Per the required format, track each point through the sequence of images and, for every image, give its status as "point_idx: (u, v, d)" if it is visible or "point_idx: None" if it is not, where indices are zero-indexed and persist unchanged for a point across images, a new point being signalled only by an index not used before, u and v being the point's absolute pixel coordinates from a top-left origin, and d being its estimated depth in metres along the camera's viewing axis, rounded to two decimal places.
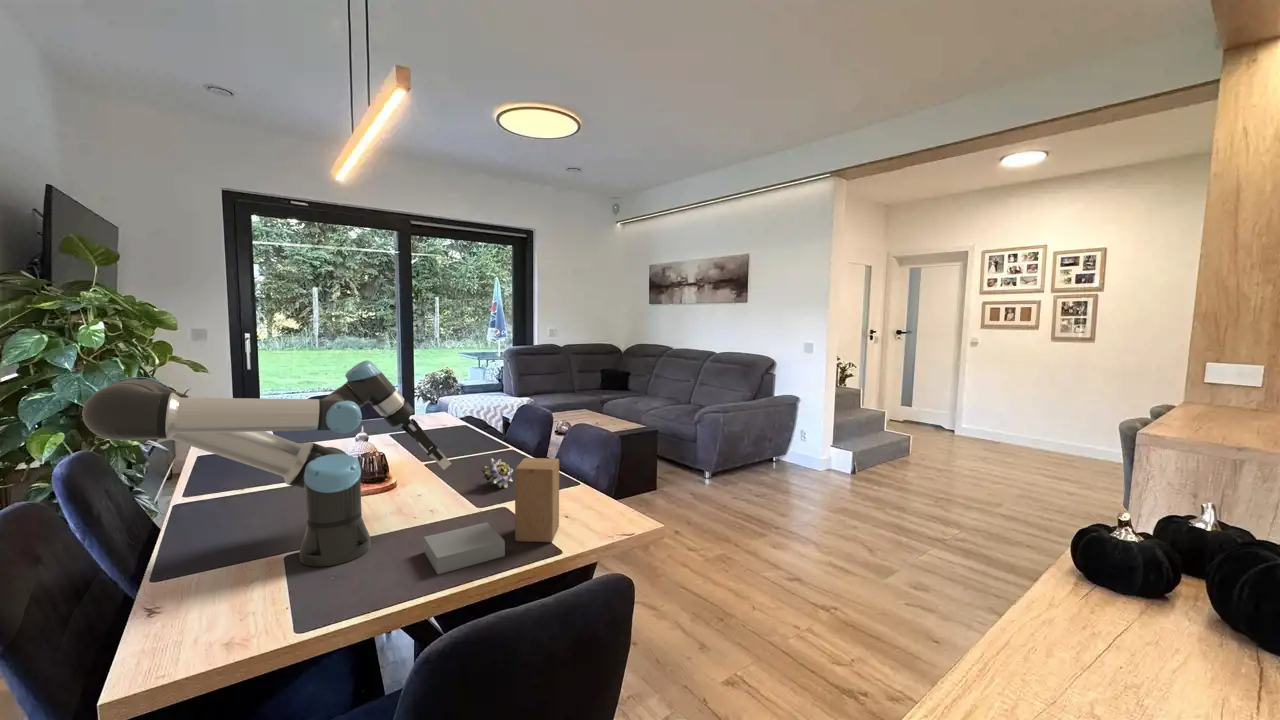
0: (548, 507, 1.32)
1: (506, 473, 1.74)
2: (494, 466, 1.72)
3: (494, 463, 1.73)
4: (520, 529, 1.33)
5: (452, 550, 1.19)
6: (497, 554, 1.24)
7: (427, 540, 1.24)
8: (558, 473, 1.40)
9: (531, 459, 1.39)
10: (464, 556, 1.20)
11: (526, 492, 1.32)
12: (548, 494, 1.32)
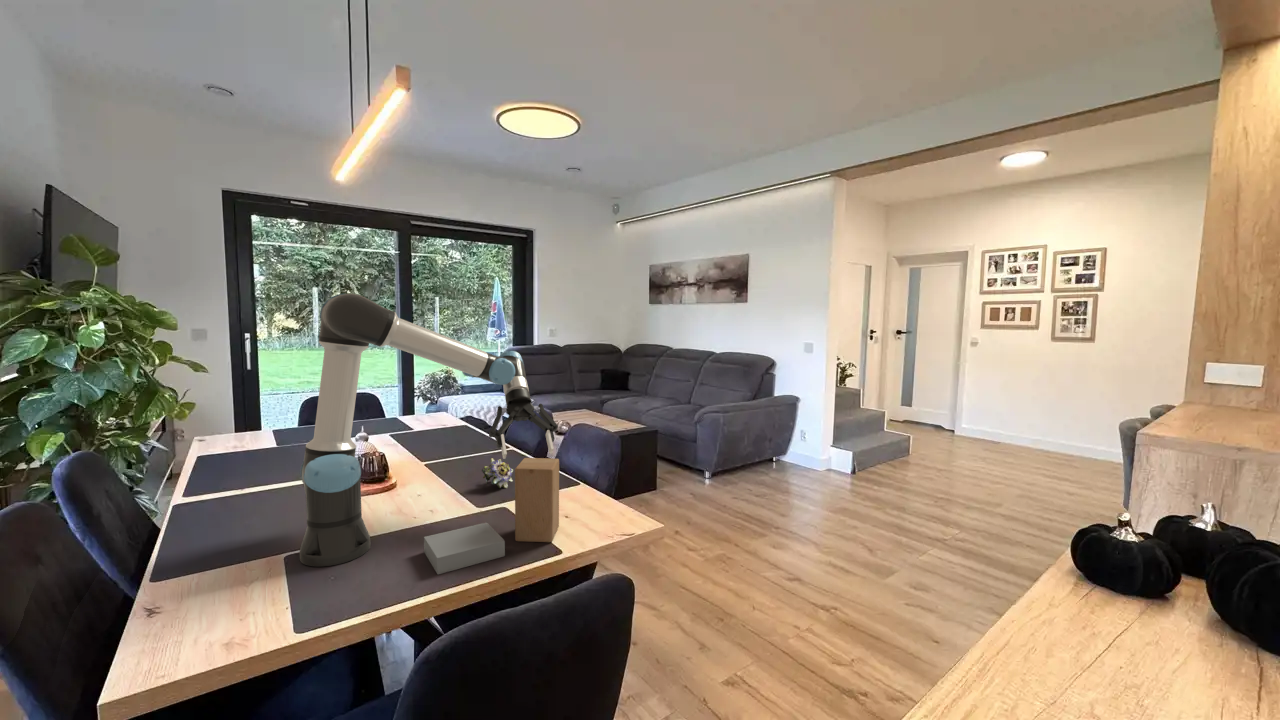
0: (548, 507, 1.32)
1: (506, 473, 1.74)
2: (494, 466, 1.72)
3: (494, 463, 1.73)
4: (520, 529, 1.33)
5: (452, 550, 1.19)
6: (497, 554, 1.24)
7: (427, 540, 1.24)
8: (558, 473, 1.40)
9: (531, 459, 1.39)
10: (464, 556, 1.20)
11: (526, 492, 1.32)
12: (548, 494, 1.32)
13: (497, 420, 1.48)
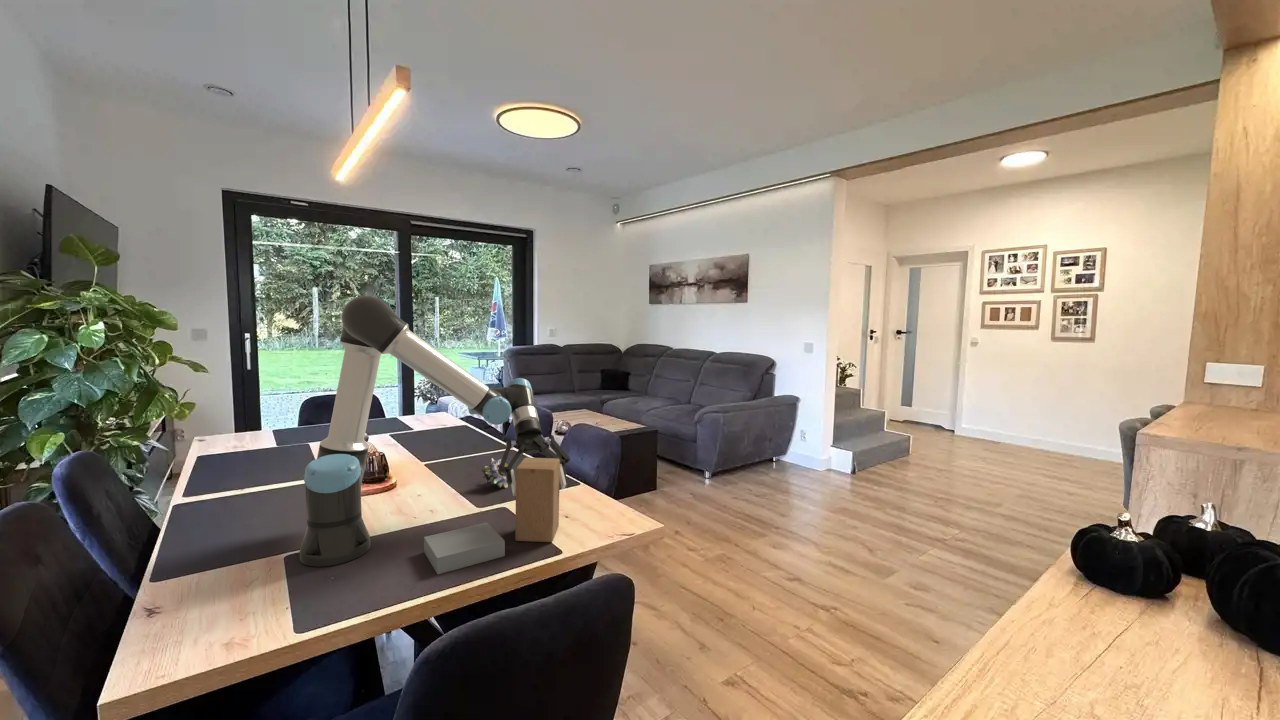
0: (548, 507, 1.32)
1: None
2: (494, 466, 1.72)
3: (494, 463, 1.73)
4: (521, 528, 1.33)
5: (452, 550, 1.19)
6: (497, 554, 1.24)
7: (427, 540, 1.24)
8: (559, 473, 1.40)
9: (532, 459, 1.39)
10: (464, 556, 1.20)
11: (527, 492, 1.32)
12: (549, 494, 1.32)
13: (506, 454, 1.41)
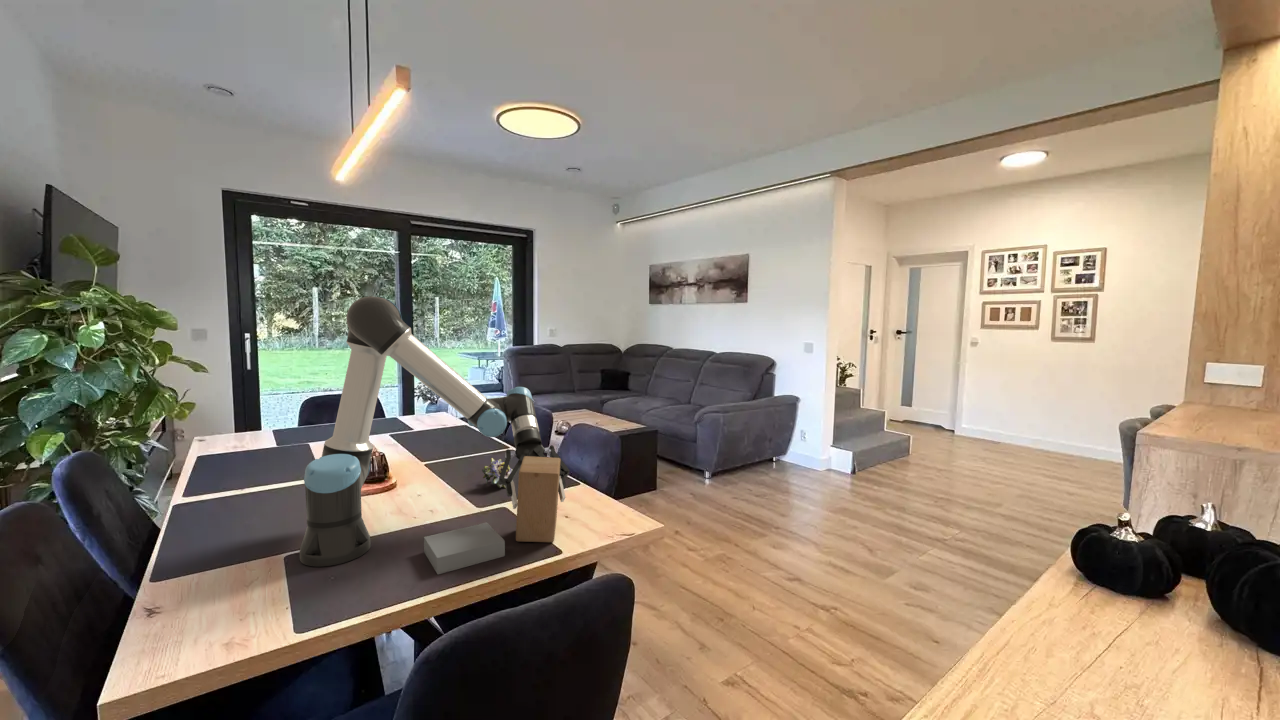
0: (551, 510, 1.31)
1: (506, 473, 1.74)
2: (494, 466, 1.72)
3: (494, 463, 1.73)
4: (522, 529, 1.31)
5: (452, 550, 1.19)
6: (497, 554, 1.24)
7: (427, 540, 1.24)
8: (559, 472, 1.38)
9: (532, 459, 1.35)
10: (464, 556, 1.20)
11: (530, 495, 1.29)
12: (553, 497, 1.30)
13: (506, 465, 1.37)
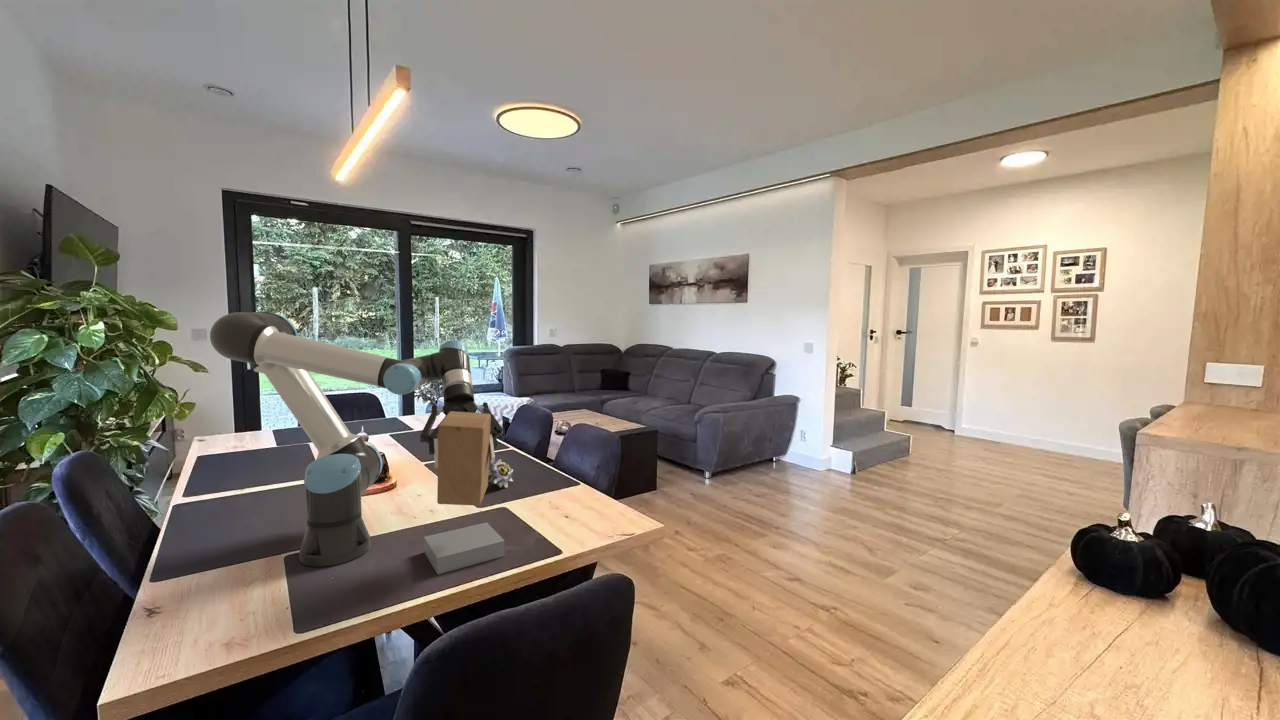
0: (476, 469, 1.18)
1: (506, 473, 1.74)
2: (494, 466, 1.72)
3: (494, 463, 1.73)
4: (444, 491, 1.18)
5: (452, 550, 1.19)
6: (497, 554, 1.24)
7: (427, 540, 1.24)
8: (489, 430, 1.25)
9: (458, 414, 1.22)
10: (464, 556, 1.20)
11: (452, 452, 1.16)
12: (477, 454, 1.17)
13: (430, 421, 1.24)
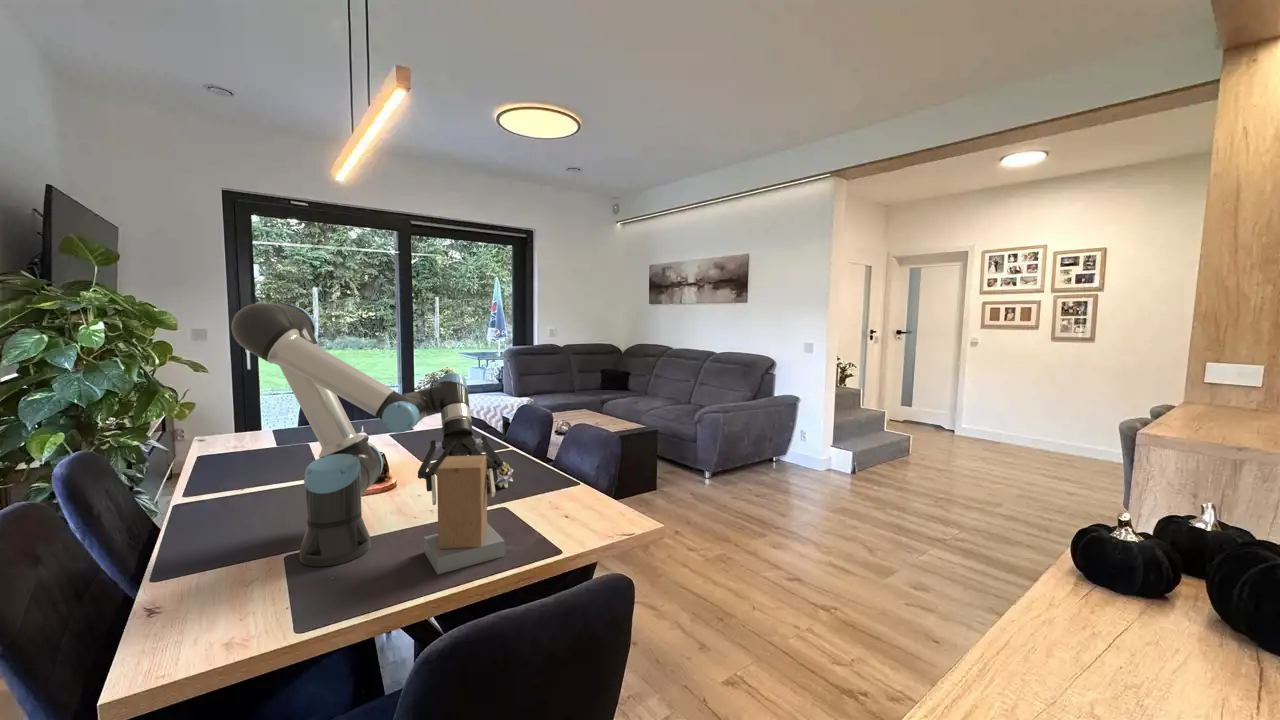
0: (476, 509, 1.20)
1: (506, 473, 1.74)
2: None
3: None
4: (445, 535, 1.19)
5: (452, 550, 1.19)
6: (497, 554, 1.24)
7: (427, 540, 1.24)
8: (486, 471, 1.28)
9: (455, 457, 1.26)
10: (464, 556, 1.20)
11: (451, 494, 1.19)
12: (476, 494, 1.20)
13: (428, 458, 1.25)
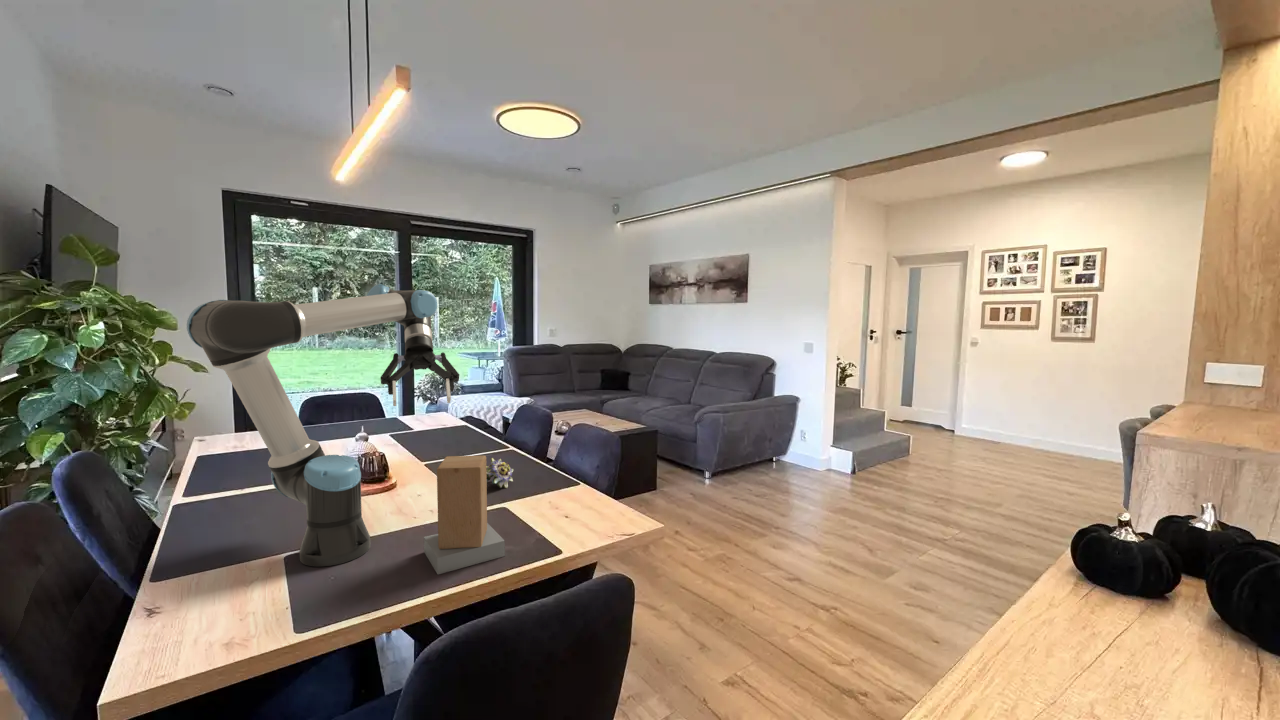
0: (476, 509, 1.20)
1: (506, 473, 1.74)
2: (495, 466, 1.72)
3: (494, 463, 1.73)
4: (445, 535, 1.19)
5: (452, 550, 1.19)
6: (497, 554, 1.24)
7: (427, 540, 1.24)
8: (485, 471, 1.28)
9: (455, 458, 1.26)
10: (464, 556, 1.20)
11: (451, 494, 1.19)
12: (476, 494, 1.20)
13: (391, 367, 1.40)
